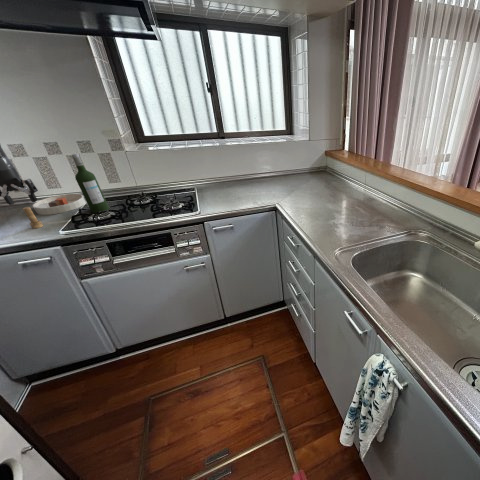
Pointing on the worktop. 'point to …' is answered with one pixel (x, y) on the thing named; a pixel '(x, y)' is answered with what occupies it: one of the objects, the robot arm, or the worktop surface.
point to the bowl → (73, 203)
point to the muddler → (32, 218)
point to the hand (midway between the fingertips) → (23, 203)
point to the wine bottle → (89, 187)
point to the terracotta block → (62, 201)
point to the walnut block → (54, 203)
